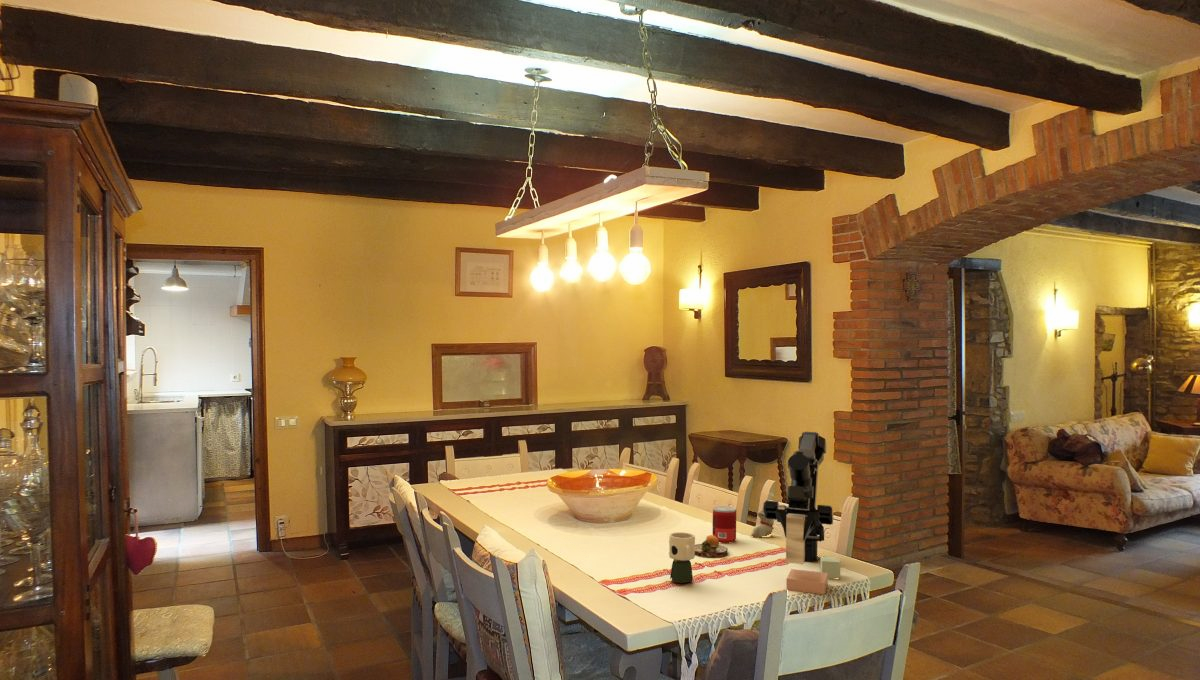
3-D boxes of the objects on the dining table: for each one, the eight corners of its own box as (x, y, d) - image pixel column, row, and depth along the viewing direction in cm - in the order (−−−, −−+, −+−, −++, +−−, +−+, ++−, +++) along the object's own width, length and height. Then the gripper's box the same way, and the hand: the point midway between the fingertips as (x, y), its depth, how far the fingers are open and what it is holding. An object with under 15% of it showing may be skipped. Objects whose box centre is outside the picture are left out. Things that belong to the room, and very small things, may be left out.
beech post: (788, 558, 212) (788, 513, 213) (804, 560, 211) (805, 514, 211) (785, 562, 208) (786, 516, 208) (802, 564, 207) (803, 518, 207)
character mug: (663, 576, 216) (663, 531, 216) (686, 575, 218) (687, 530, 218) (675, 588, 205) (676, 540, 206) (700, 587, 207) (701, 539, 207)
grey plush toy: (774, 538, 263) (774, 509, 264) (751, 537, 265) (751, 508, 265) (773, 535, 269) (773, 506, 269) (750, 533, 270) (751, 505, 270)
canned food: (740, 542, 257) (740, 509, 258) (719, 544, 255) (720, 511, 255) (728, 537, 265) (728, 505, 265) (708, 538, 262) (708, 506, 262)
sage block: (820, 573, 222) (820, 556, 222) (838, 574, 221) (838, 557, 221) (821, 578, 217) (822, 561, 217) (840, 579, 216) (840, 562, 216)
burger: (716, 547, 251) (716, 525, 251) (735, 556, 240) (735, 533, 240) (684, 550, 246) (684, 527, 247) (701, 560, 235) (701, 535, 236)
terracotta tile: (791, 579, 215) (791, 568, 215) (827, 583, 212) (827, 573, 212) (786, 589, 206) (786, 578, 206) (824, 594, 202) (824, 583, 202)
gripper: (764, 471, 217) (757, 518, 206) (832, 476, 210) (828, 525, 200) (768, 494, 224) (762, 540, 214) (834, 500, 217) (831, 548, 207)
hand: (795, 538), depth 208 cm, fingers closed on beech post, 4 cm apart
